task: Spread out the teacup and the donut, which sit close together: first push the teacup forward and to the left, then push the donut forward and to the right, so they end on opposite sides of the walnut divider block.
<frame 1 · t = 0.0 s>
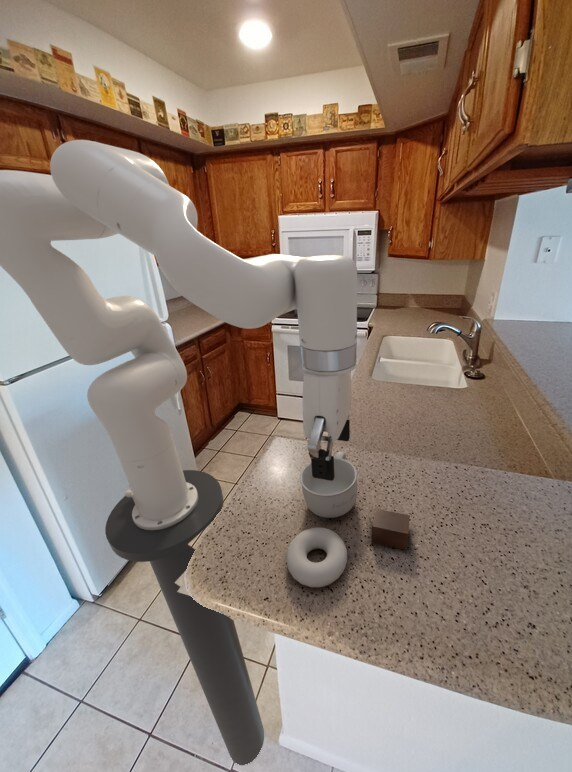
hand: (332, 457, 51), 17 cm above the worktop, tool pointing down, fingers open, 9 cm apart
donut: (317, 562, 54), on the worktop
divider block: (390, 536, 58), on the worktop
teacup: (333, 500, 66), on the worktop
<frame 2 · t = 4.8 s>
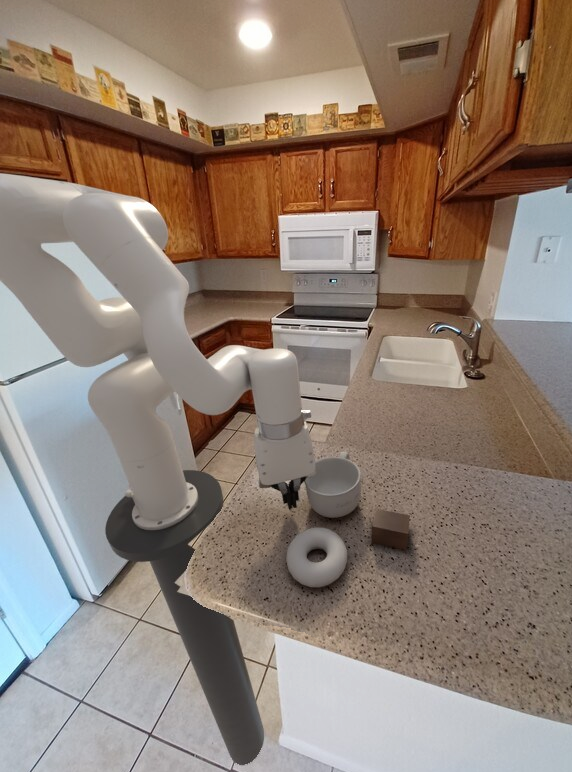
hand: (291, 503, 63), 2 cm above the worktop, tool pointing down, fingers closed
teacup: (337, 499, 66), on the worktop, touching gripper
everything else where it was.
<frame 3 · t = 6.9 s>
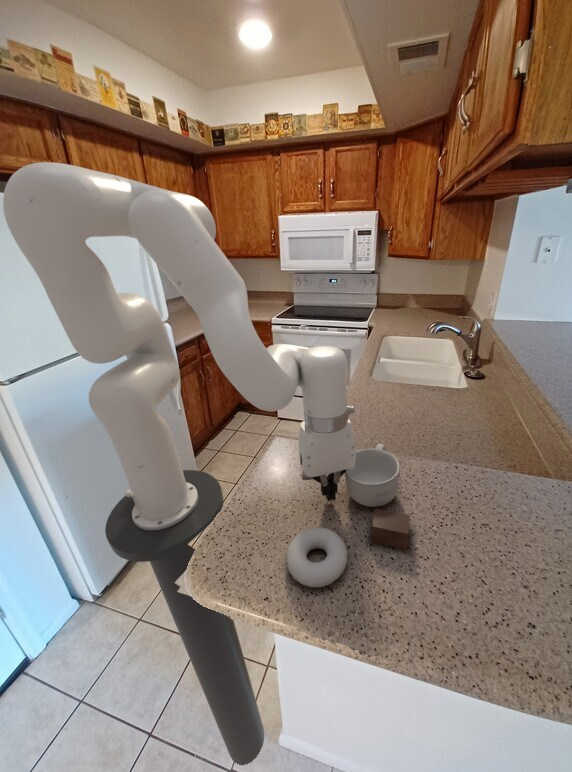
hand: (329, 495, 65), 2 cm above the worktop, tool pointing down, fingers closed
teacup: (373, 490, 68), on the worktop, touching gripper
everything else where it was.
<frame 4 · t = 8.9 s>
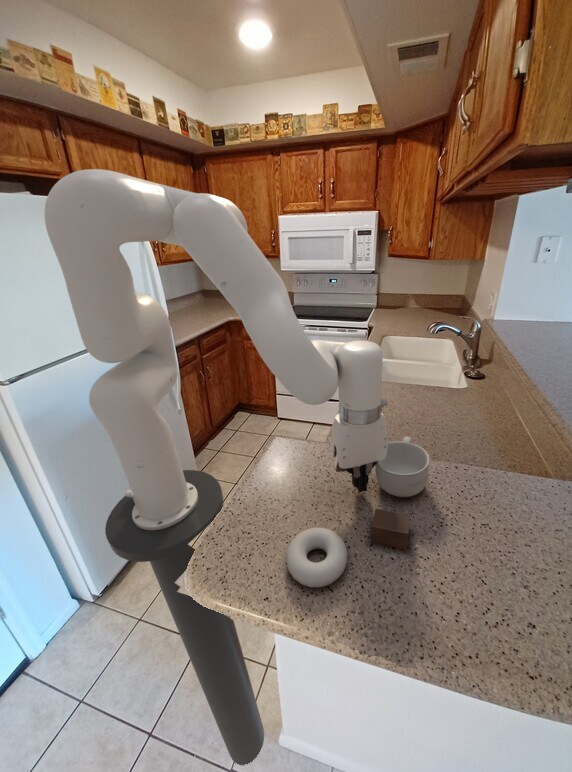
hand: (360, 487, 67), 2 cm above the worktop, tool pointing down, fingers closed
teacup: (401, 482, 70), on the worktop, touching gripper
everything else where it was.
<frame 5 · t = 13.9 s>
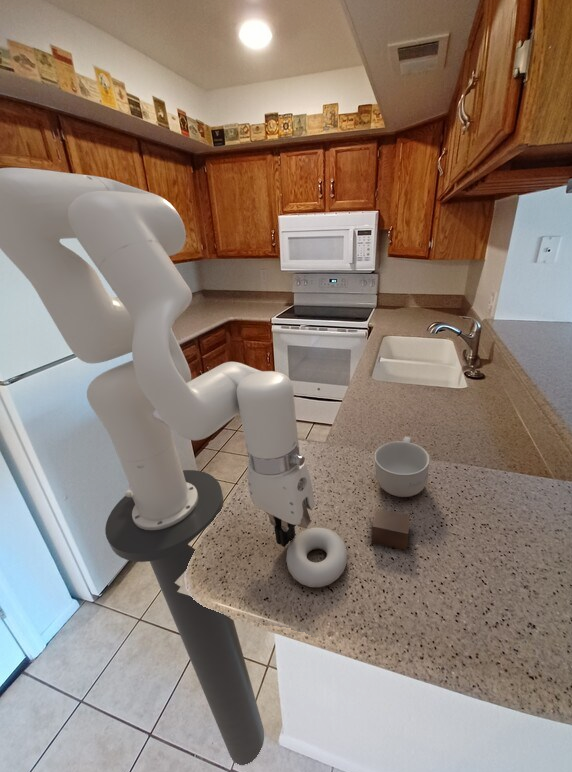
hand: (286, 538, 57), 2 cm above the worktop, tool pointing down, fingers closed
donut: (317, 562, 54), on the worktop, touching gripper
teacup: (401, 481, 70), on the worktop
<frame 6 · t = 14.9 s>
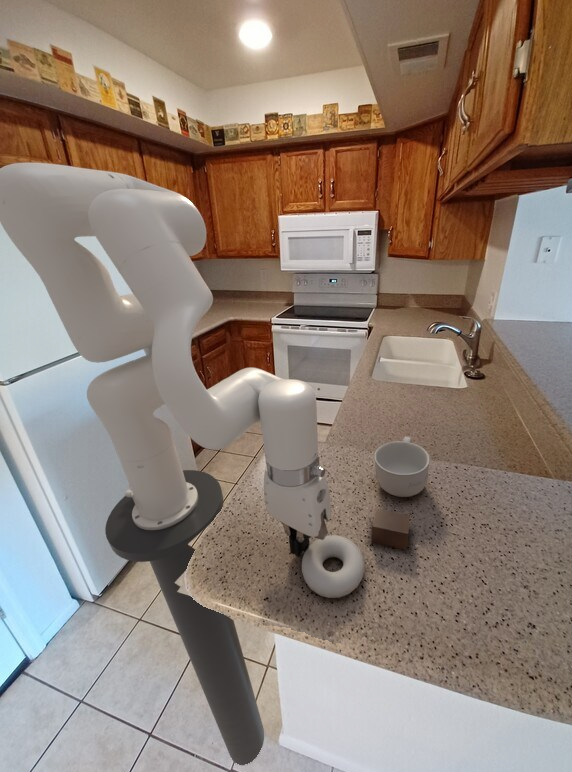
hand: (299, 548, 55), 1 cm above the worktop, tool pointing down, fingers closed
donut: (333, 571, 53), on the worktop, touching gripper
everything else where it was.
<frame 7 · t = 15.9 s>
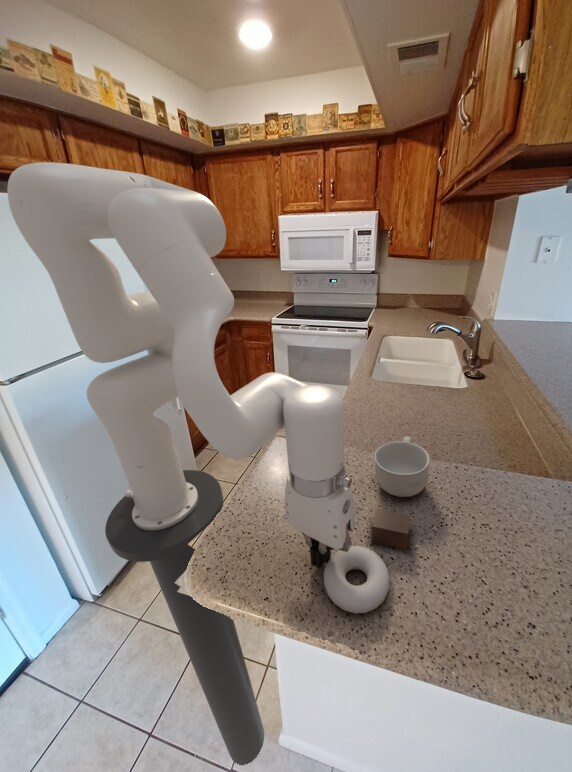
hand: (320, 559, 53), 1 cm above the worktop, tool pointing down, fingers closed
donut: (356, 584, 51), on the worktop, touching gripper
everything else where it was.
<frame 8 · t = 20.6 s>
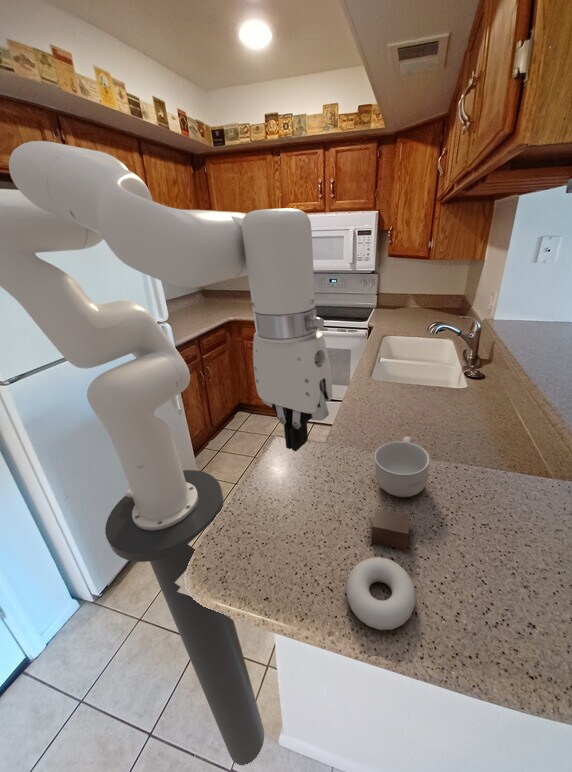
hand: (297, 444, 48), 21 cm above the worktop, tool pointing down, fingers closed
donut: (379, 598, 49), on the worktop
everything else where it was.
at the end: teacup inside the target area (2.7 cm from its centre), on the worktop; donut inside the target area (0.3 cm from its centre), on the worktop; teacup tilted 0° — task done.
